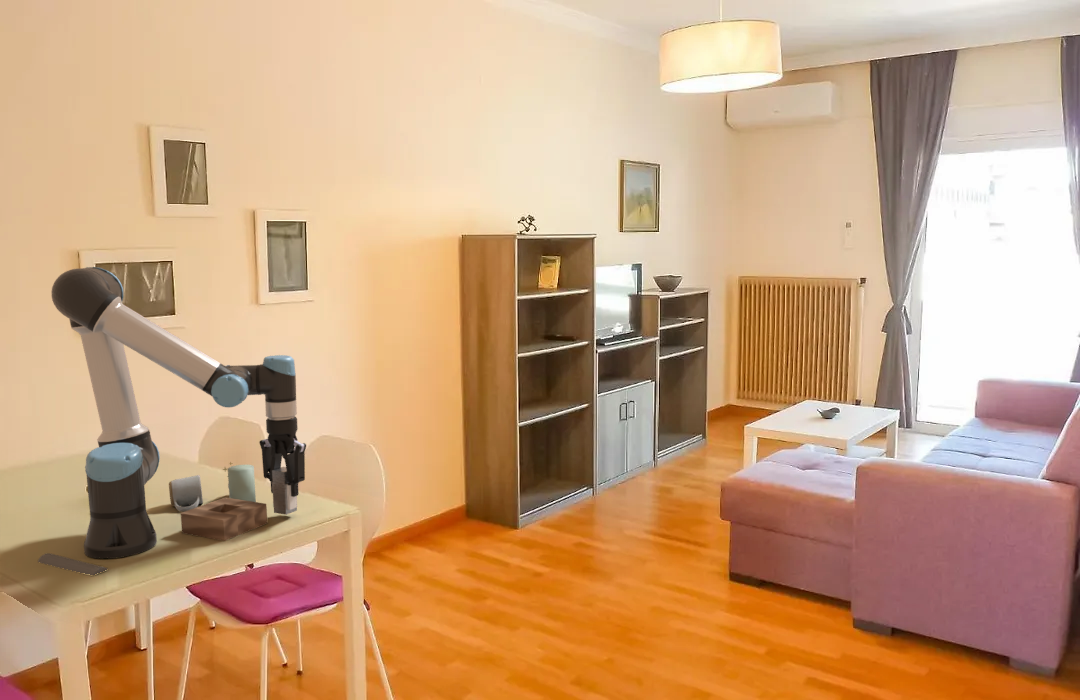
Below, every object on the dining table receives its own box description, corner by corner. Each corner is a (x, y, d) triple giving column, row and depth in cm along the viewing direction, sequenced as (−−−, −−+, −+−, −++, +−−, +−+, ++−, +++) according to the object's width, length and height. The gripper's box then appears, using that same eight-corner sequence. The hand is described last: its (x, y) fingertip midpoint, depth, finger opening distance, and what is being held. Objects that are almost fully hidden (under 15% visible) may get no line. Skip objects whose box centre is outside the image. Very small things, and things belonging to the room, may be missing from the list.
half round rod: (92, 579, 184) (91, 571, 183) (36, 564, 193) (35, 556, 193) (110, 572, 187) (109, 564, 187) (54, 558, 196) (54, 550, 196)
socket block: (224, 540, 204) (223, 520, 204) (182, 533, 210) (180, 513, 210) (267, 523, 217) (266, 503, 216) (225, 516, 223) (224, 497, 222)
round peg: (243, 513, 225) (240, 472, 224) (224, 510, 228) (222, 469, 227) (261, 506, 231) (259, 465, 230) (243, 503, 234) (240, 463, 233)
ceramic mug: (170, 503, 235) (168, 475, 234) (202, 499, 239) (200, 471, 238) (171, 514, 226) (168, 486, 225) (204, 510, 229) (202, 482, 228)
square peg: (286, 514, 219) (284, 472, 217) (273, 512, 221) (272, 470, 219) (297, 510, 222) (295, 468, 221) (285, 508, 224) (283, 466, 223)
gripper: (318, 417, 218) (321, 507, 221) (266, 411, 226) (270, 499, 228) (297, 422, 211) (301, 515, 214) (245, 416, 219) (249, 506, 222)
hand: (285, 506), depth 221 cm, fingers closed on square peg, 4 cm apart
